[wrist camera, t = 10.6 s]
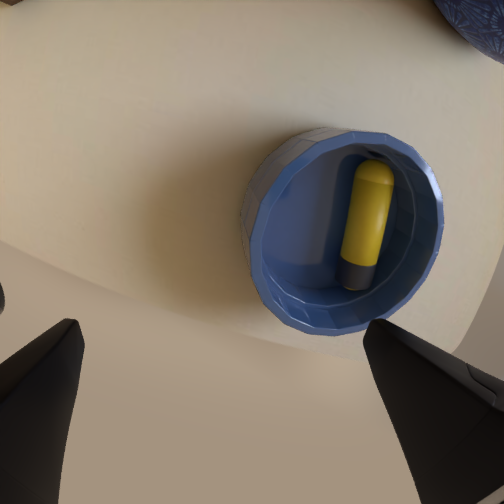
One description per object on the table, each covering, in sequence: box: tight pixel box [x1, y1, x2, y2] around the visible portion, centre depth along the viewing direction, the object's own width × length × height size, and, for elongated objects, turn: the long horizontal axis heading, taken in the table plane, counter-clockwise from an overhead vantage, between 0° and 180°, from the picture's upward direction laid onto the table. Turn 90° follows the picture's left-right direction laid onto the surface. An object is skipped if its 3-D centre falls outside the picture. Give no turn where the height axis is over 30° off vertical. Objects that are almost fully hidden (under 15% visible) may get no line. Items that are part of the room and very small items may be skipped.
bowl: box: [240, 128, 444, 336], centre depth 17 cm, size 12×12×5 cm
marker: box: [335, 159, 394, 291], centre depth 18 cm, size 9×3×3 cm
